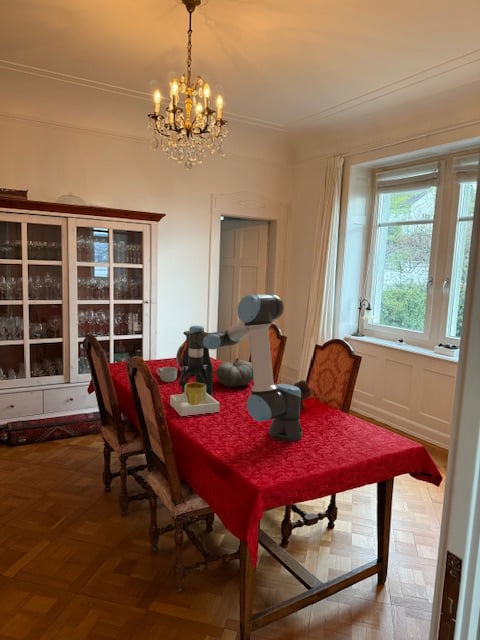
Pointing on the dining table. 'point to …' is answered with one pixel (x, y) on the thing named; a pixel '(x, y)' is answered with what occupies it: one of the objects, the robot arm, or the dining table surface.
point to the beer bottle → (197, 376)
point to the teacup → (167, 373)
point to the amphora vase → (183, 353)
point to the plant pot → (194, 393)
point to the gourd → (235, 373)
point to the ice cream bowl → (303, 391)
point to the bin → (186, 409)
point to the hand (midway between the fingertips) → (194, 397)
